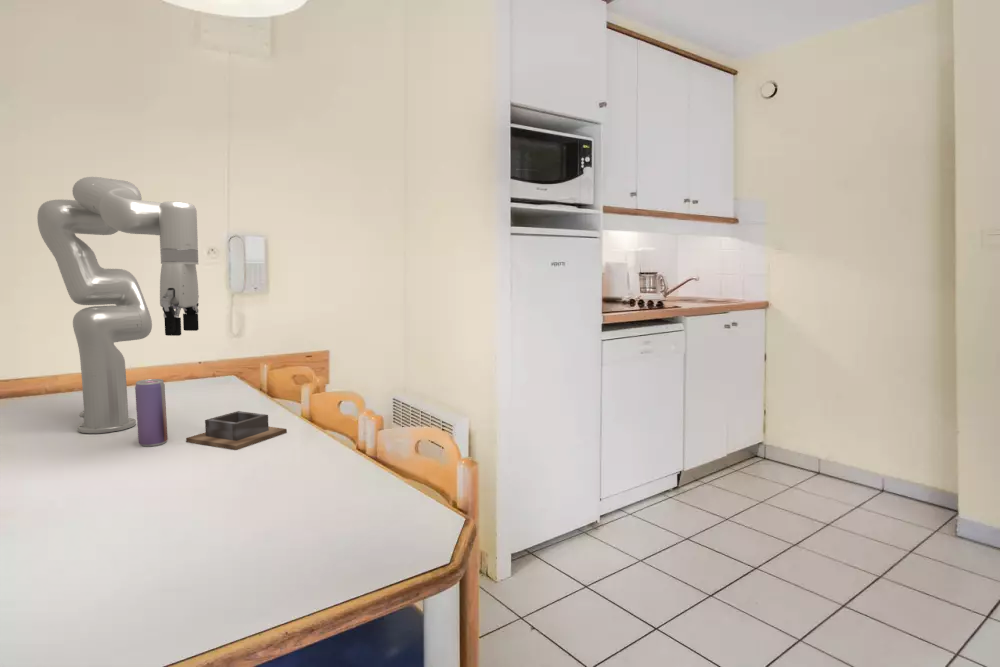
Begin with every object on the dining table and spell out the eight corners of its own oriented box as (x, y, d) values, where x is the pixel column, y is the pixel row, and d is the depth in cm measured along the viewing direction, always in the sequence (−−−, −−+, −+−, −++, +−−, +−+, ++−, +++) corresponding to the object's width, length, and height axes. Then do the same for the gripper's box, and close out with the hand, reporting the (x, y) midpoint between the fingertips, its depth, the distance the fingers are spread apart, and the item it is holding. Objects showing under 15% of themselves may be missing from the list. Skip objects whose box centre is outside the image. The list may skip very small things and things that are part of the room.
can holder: (186, 442, 142) (185, 421, 141) (239, 426, 156) (238, 407, 156) (236, 450, 135) (235, 428, 135) (286, 432, 150) (286, 413, 149)
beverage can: (154, 448, 137) (150, 383, 135) (132, 446, 138) (128, 382, 136) (173, 440, 143) (170, 379, 141) (152, 439, 144) (148, 378, 142)
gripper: (178, 257, 142) (181, 328, 144) (143, 257, 125) (147, 337, 127) (211, 258, 143) (213, 329, 145) (181, 257, 126) (184, 337, 128)
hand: (182, 332), depth 136 cm, fingers open, 9 cm apart
